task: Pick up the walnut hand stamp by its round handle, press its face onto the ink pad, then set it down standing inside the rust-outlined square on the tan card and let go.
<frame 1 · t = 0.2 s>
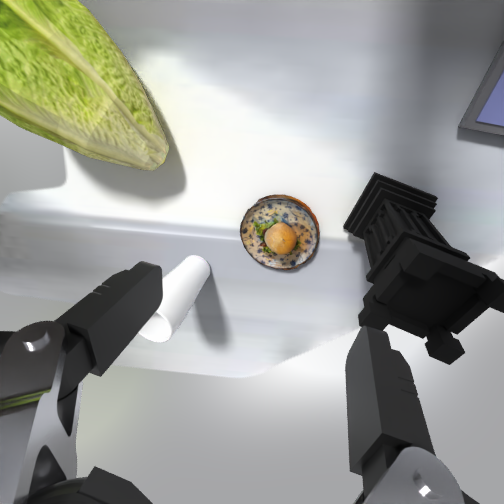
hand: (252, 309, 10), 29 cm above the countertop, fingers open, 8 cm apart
burger: (280, 231, 41), on the countertop
drinking glass: (198, 266, 48), on the countertop
lettuce: (110, 93, 37), on the countertop
chess piece: (386, 211, 35), on the countertop
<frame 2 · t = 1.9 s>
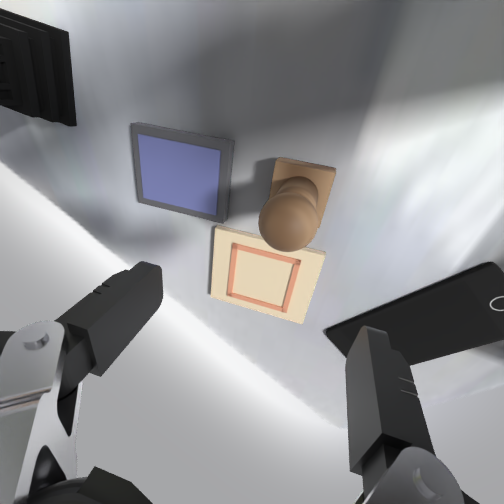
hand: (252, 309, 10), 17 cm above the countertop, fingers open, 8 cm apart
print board: (262, 275, 31), on the countertop
stamp: (301, 188, 25), on the countertop
ink pad: (185, 173, 27), on the countertop
cell phone: (415, 324, 29), on the countertop
chess piece: (39, 70, 26), on the countertop
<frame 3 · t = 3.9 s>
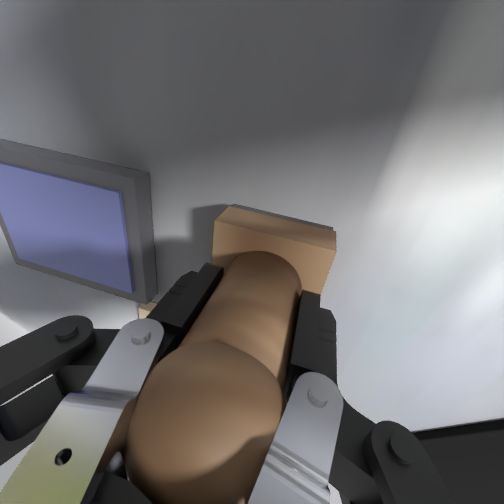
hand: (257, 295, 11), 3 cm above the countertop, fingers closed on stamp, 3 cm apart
stamp: (273, 257, 14), on the countertop, touching gripper
ink pad: (80, 221, 16), on the countertop
cell phone: (462, 457, 18), on the countertop
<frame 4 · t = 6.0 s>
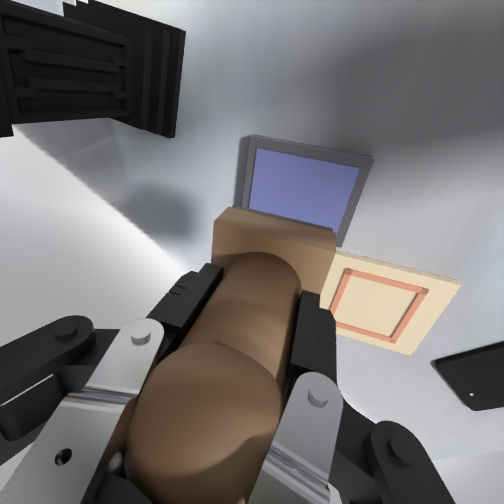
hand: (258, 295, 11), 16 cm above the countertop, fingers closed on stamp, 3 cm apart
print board: (370, 302, 28), on the countertop
stamp: (273, 257, 14), point 12 cm above the countertop, touching gripper
ink pad: (299, 191, 24), on the countertop
chess piece: (139, 75, 23), on the countertop
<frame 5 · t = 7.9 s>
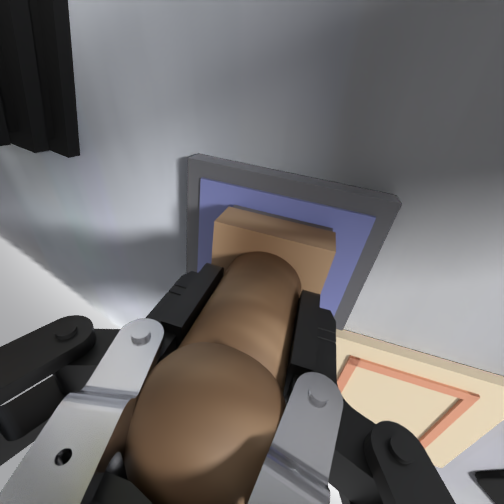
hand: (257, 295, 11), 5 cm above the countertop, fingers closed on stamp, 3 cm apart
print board: (385, 395, 19), on the countertop
stamp: (273, 257, 14), point 2 cm above the countertop, touching gripper
ink pad: (276, 242, 15), on the countertop
chess piece: (11, 54, 14), on the countertop
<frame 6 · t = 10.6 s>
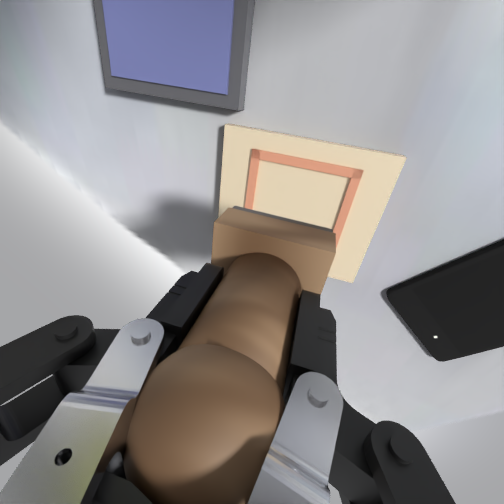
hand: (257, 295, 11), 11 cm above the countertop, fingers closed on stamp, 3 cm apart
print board: (295, 206, 21), on the countertop
stamp: (272, 258, 14), point 8 cm above the countertop, touching gripper
ink pad: (176, 27, 17), on the countertop
when the fingers open (4 cm above the countertop, at t = 12.2 s): stamp stays where it is, resting on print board.
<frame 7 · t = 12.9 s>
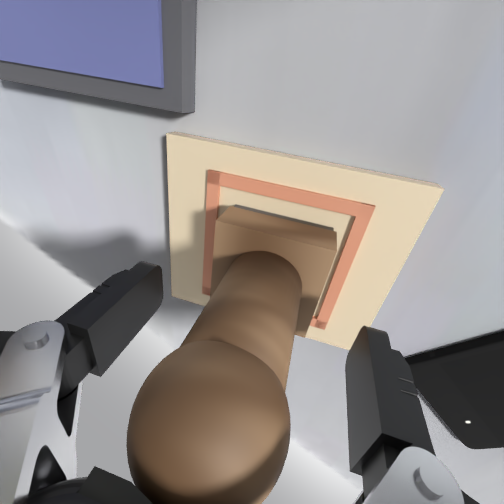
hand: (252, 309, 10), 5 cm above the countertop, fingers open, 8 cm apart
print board: (275, 249, 14), on the countertop
stamp: (274, 257, 14), point 1 cm above the countertop, touching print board
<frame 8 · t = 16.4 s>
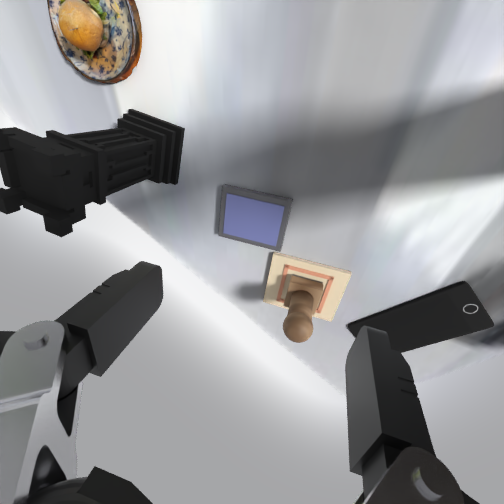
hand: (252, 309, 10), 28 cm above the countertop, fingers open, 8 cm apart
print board: (303, 286, 43), on the countertop
stamp: (303, 289, 43), point 1 cm above the countertop, touching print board
burger: (102, 27, 33), on the countertop
ink pad: (254, 217, 39), on the countertop
cell phone: (413, 321, 42), on the countertop
chess piece: (156, 147, 38), on the countertop
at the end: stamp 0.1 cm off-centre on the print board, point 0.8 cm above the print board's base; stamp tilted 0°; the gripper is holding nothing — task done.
